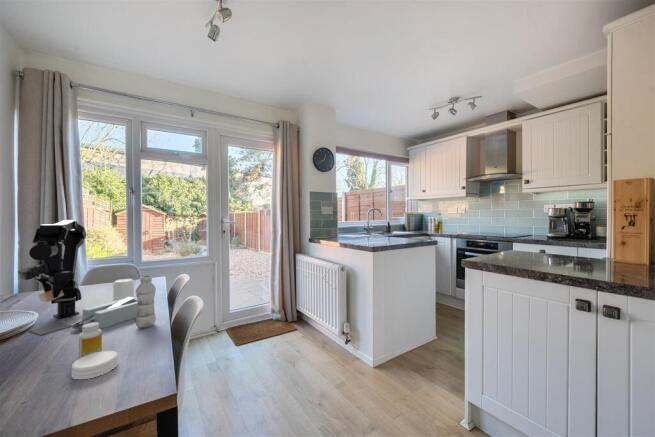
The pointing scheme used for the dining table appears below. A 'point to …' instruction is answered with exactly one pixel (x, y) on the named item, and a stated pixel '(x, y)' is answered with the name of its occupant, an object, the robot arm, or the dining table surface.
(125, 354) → the dining table surface
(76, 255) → the robot arm
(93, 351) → the supplement bottle
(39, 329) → the pad
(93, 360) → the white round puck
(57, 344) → the dining table surface
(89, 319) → the lever
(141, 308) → the plastic bottle
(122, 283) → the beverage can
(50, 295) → the tile
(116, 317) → the grey-green channel block
